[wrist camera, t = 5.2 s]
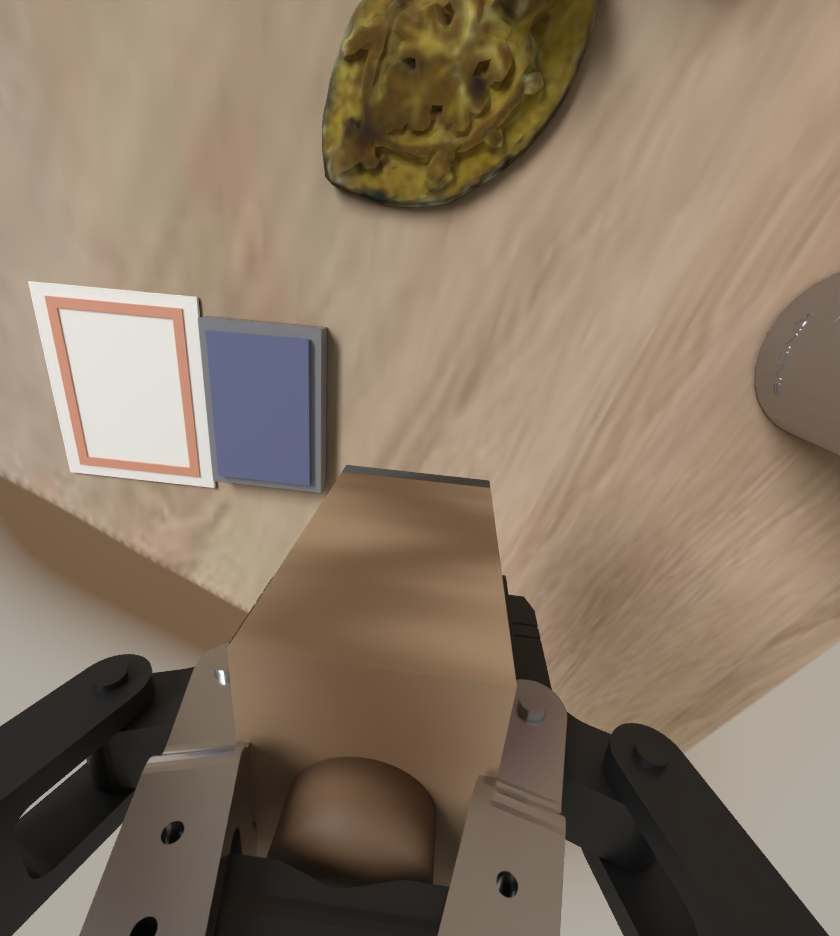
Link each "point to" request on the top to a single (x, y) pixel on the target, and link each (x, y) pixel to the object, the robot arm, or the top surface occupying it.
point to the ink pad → (265, 402)
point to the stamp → (377, 680)
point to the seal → (446, 92)
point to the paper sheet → (126, 381)
